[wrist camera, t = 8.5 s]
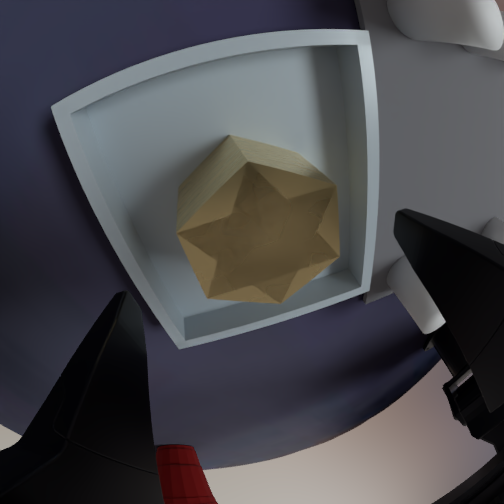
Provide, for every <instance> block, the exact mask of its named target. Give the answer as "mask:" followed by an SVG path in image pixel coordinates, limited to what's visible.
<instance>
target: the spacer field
mask: <svg viewBox="0 0 504 504" xmlns="http://www.w3.org/2000/svg"><path fill="white" fill-rule="evenodd" d="M354 2H355V6H356V10H357V15H358V20H359V25H360V30H365V31H369V36H370V42H371V49H372V56H373V63H374V71H375V81H376V91H377V104H378V121H379V198H378V216H377V230H376V241H375V251H374V260H373V268H372V276H371V283H370V290H369V291H367V292H365V293H364V297H363V301H364V303H365V304H368V303H370V302H372V301H375V300H377V299H380V298H382V297H385V296H387V295H389V294H392V293H395V294H396V296H397V297H398V299H399V300H400V301H401V303H402V304H403V305H404V307H405V308H406V310H407V311H408V312H409V314H410V315H411V317H412V318H413V319H414V321H415V322H416V324H417V325H418V327H419V328H420V329H421V331H422V332H423V333H424V334H428V333H431V332H433V331H435V330H436V329H438V328H439V327H441V326H442V325H443V324H444V323H445V322H446V321H445V320H444V318H443V316H442V315H441V313H440V311H439V309H438V308H437V306H436V305H435V303H434V301H433V300H432V298H431V296H430V295H429V293H428V292H427V290H426V289H425V287H424V286H423V284H422V283H421V281H420V279H419V278H418V276H417V275H416V273H415V272H414V270H413V268H412V267H411V265H410V263H409V261H408V259H407V258H406V256H405V254H404V252H403V251H402V249H401V247H400V246H399V244H398V242H397V240H396V239H395V237H394V233H393V229H394V220H395V213H396V212H397V211H398V210H401V209H404V208H407V209H411V210H414V211H417V212H420V213H423V214H426V215H429V216H432V217H435V218H438V219H440V220H443V221H446V222H449V223H451V224H454V225H457V226H460V227H462V228H465V229H467V230H470V231H473V232H475V233H478V234H480V235H483V236H485V237H487V238H490V239H492V240H495V241H497V242H499V243H502V244H504V12H502V11H499V8H498V6H497V4H496V2H495V0H354Z"/></svg>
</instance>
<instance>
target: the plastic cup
mask: <svg viewBox="0 0 504 504" xmlns="http://www.w3.org/2000/svg"><path fill="white" fill-rule="evenodd" d="M156 462H157V468H158V475H159V479H160V484H161V489H162V494H163V499H164V504H218V503H217V502H216V500H215V498H214V496H213V495H212V492H211V490H210V487H209V485H208V482H207V480H206V478H205V475H204V472H203V470H202V467H201V466H200V463H199V460H198V457H197V454H196V451H195V450H194V447H191V446H187V445H164V446H160V447H158V448H157V452H156Z"/></svg>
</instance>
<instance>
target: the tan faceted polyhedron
mask: <svg viewBox="0 0 504 504" xmlns="http://www.w3.org/2000/svg"><path fill="white" fill-rule="evenodd" d="M176 234H177V236H178V238H179V241H180V243H181V245H182V247H183V249H184V252H185V254H186V256H187V258H188V260H189V262H190V265H191V267H192V269H193V271H194V273H195V275H196V277H197V279H198V281H199V283H200V286H201V288H202V290H203V292H204V294H205V296H206V298H207V299H216V300H229V301H242V302H258V303H275V304H281V303H283V302H284V301H285V300H287V299H288V298H289V297H290V296H292V295H293V294H294V293H295V292H297V291H298V290H299V289H301V288H302V287H303V286H304V285H306V284H307V283H308V282H309V281H311V280H312V279H313V278H314V277H316V276H317V275H318V274H319V273H320V272H322V271H323V270H324V269H325V268H327V267H328V266H329V265H330V264H331V263H333V262H334V261H335V260H336V259H337V258H339V257H340V239H339V212H338V194H337V185H336V184H335V183H334V182H332V181H331V180H330V179H329V178H328V177H327V176H325V175H324V174H323V173H322V172H321V171H319V170H318V169H317V168H316V167H315V166H313V165H312V164H311V163H310V162H309V161H307V160H306V159H305V158H304V157H302V156H301V155H300V154H299V153H297V152H294V151H291V150H287V149H284V148H280V147H277V146H273V145H269V144H266V143H262V142H258V141H254V140H250V139H246V138H242V137H238V136H234V135H229V136H228V137H227V138H226V139H224V140H223V141H222V142H221V143H220V144H219V145H218V146H217V147H216V148H215V149H214V150H213V151H212V152H211V153H210V154H209V155H208V156H207V157H206V158H205V159H204V160H203V161H202V162H201V163H200V164H199V166H198V167H197V168H196V169H195V170H194V171H193V172H192V173H191V174H190V175H189V176H188V177H187V178H186V179H185V180H184V181H183V182H182V184H181V185H180V186H179V187H178V202H177V223H176Z"/></svg>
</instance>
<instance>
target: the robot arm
mask: <svg viewBox="0 0 504 504" xmlns="http://www.w3.org/2000/svg"><path fill="white" fill-rule="evenodd" d="M393 233H394V237H395V239H396V240H397V242H398V244H399V246H400V247H401V249H402V251H403V252H404V254H405V256H406V258H407V259H408V261H409V263H410V265H411V267H412V268H413V270H414V272H415V273H416V275H417V276H418V278H419V279H420V281H421V283H422V284H423V286H424V287H425V289H426V290H427V292H428V293H429V295H430V296H431V298H432V300H433V301H434V303H435V305H436V306H437V308H438V309H439V311H440V313H441V315H442V316H443V318H444V320H445V321H446V322H445V323H444V324H443V325H442V326H441V327H439V328H438V329H436V330H435V331H433V332H432V333H431V334H430V336H429V338H428V340H427V342H426V344H425V346H424V348H423V349H424V351H427V350H429V349H430V348H432V347H435V349H436V350H437V352H438V353H439V355H440V357H441V358H442V360H443V361H444V363H445V364H446V366H447V367H448V369H449V371H450V372H451V374H452V376H453V378H452V379H451V380H450V381H448V382H447V383H445V384H444V385H443V388H442V389H443V391H444V392H445V394H446V396H447V398H448V401H449V404H450V407H451V410H452V414H453V417H454V419H455V420H459V421H460V423H461V424H462V425H463V426H466V425H467V427H468V428H469V431H470V433H471V435H472V436H473V437H475V438H476V439H482V440H484V441H486V442H488V443H490V444H493V445H494V447H495V450H496V452H497V454H496V455H495V456H494V457H493V458H492V459H491V460H490V461H489V462H487V464H485V465H484V466H483V467H482V468H481V469H479V470H478V471H477V472H476V473H474V474H473V475H472V476H471V477H469V478H468V479H467V480H465V481H464V482H463V483H461V484H460V485H459V486H457V487H456V488H455V489H453V490H452V491H450V492H449V493H447V494H446V495H444V496H443V497H442V498H440V499H438V500H437V501H435V502H434V503H432V504H504V244H502V243H499V242H497V241H495V240H492V239H490V238H487V237H485V236H483V235H480V234H478V233H475V232H473V231H470V230H467V229H465V228H462V227H460V226H457V225H454V224H451V223H449V222H446V221H443V220H440V219H438V218H435V217H432V216H429V215H426V214H423V213H420V212H417V211H414V210H411V209H407V208H404V209H401V210H398V211H397V212H396V213H395V220H394V229H393ZM470 373H473V375H472V376H471V377H470V378H469V379H467V380H466V381H465V382H464V383H463V384H462V385H460V386H459V387H458V386H457V385H458V384H459V383H460V382H461V381H462V380H464V379H465V378H466V377H467V376H468V375H469V374H470ZM0 504H164V499H163V494H162V489H161V484H160V479H159V475H158V468H157V462H156V455H155V448H154V440H153V432H152V423H151V412H150V401H149V386H148V367H147V351H146V344H145V336H144V328H143V319H142V312H141V309H140V307H139V305H138V304H137V302H136V301H135V299H134V298H133V296H132V295H131V293H130V292H129V291H126V290H125V291H122V292H118V293H116V294H115V295H114V297H113V298H112V299H111V301H110V302H109V303H108V305H107V306H106V308H105V309H104V310H103V312H102V313H101V315H100V316H99V317H98V319H97V320H96V322H95V323H94V325H93V326H92V328H91V329H90V330H89V332H88V333H87V335H86V336H85V338H84V339H83V341H82V342H81V344H80V345H79V347H78V348H77V350H76V352H75V353H74V355H73V356H72V358H71V359H70V361H69V362H68V364H67V366H66V367H65V369H64V371H63V372H62V374H61V376H60V377H59V379H58V380H57V382H56V384H55V385H54V387H53V389H52V390H51V392H50V394H49V395H48V397H47V399H46V400H45V402H44V403H43V405H42V406H41V408H40V409H39V411H38V412H37V414H36V415H35V417H34V419H33V420H32V422H31V423H30V425H29V426H28V428H27V430H26V431H25V433H24V434H23V436H22V437H21V439H20V440H19V441H18V442H17V443H15V444H14V445H12V446H11V447H9V448H6V449H4V450H1V451H0Z"/></svg>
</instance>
